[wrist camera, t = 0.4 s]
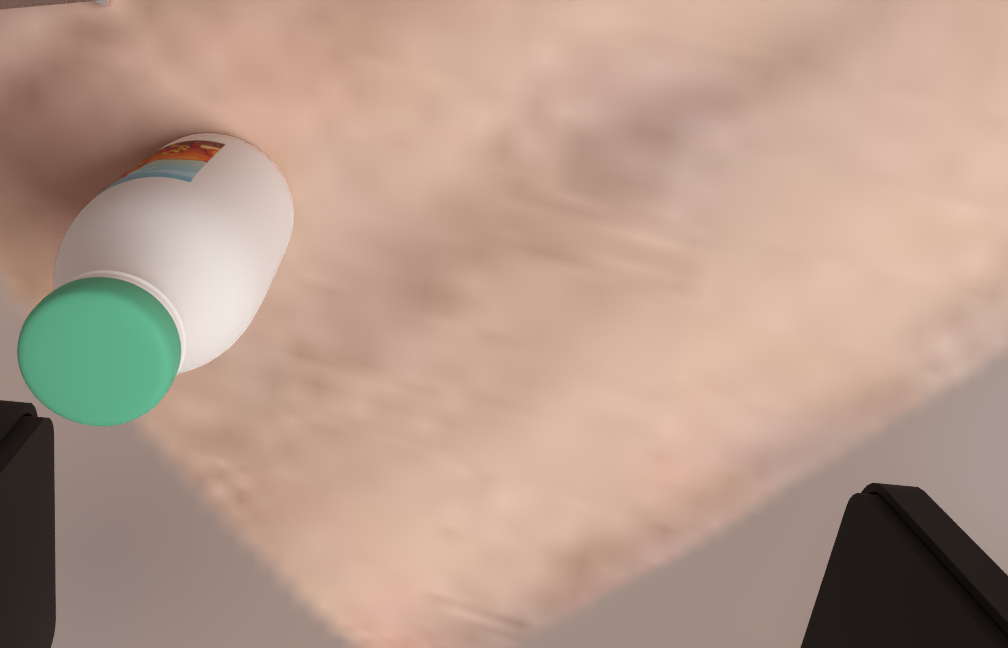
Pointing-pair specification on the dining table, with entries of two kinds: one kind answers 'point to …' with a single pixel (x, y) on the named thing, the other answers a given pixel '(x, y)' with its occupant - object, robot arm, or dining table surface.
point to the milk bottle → (157, 278)
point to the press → (45, 3)
